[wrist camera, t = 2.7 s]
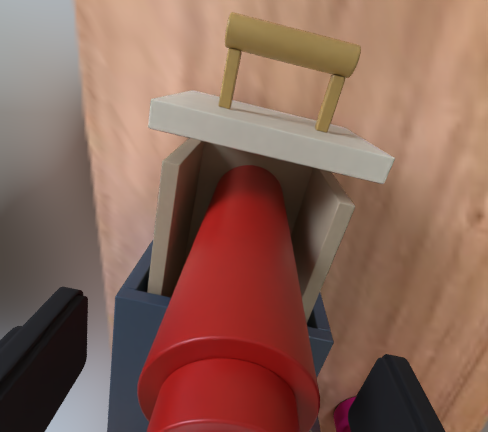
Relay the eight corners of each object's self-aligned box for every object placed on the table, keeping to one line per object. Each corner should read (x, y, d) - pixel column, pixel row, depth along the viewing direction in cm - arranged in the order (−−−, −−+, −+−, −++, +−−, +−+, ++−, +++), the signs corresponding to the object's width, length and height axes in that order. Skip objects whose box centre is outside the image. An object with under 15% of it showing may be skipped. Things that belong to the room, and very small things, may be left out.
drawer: (202, 19, 18) (161, -22, 11) (369, 62, 19) (443, 52, 11) (167, 260, 25) (128, 338, 18) (288, 287, 26) (299, 373, 18)
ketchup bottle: (222, 157, 20) (53, 506, 4) (291, 173, 21) (412, 570, 4) (209, 220, 22) (62, 627, 6) (272, 234, 23) (304, 666, 6)
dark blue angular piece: (169, 214, 25) (114, 296, 16) (307, 245, 25) (334, 342, 16) (151, 342, 31) (105, 456, 22) (263, 365, 31) (264, 485, 22)
